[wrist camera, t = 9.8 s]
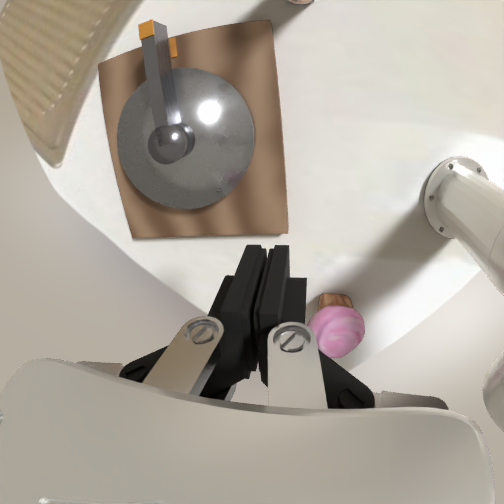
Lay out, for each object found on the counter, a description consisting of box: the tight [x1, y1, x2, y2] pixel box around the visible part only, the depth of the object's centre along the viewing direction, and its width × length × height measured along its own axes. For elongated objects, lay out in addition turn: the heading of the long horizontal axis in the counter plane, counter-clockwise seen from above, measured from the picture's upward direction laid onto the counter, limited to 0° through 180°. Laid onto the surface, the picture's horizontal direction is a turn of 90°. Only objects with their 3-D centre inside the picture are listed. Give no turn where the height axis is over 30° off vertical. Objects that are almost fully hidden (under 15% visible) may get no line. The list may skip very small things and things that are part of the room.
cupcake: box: [307, 293, 365, 358], centre depth 40 cm, size 9×9×10 cm
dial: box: [117, 20, 256, 209], centre depth 28 cm, size 24×18×6 cm
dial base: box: [98, 20, 288, 238], centre depth 33 cm, size 24×28×2 cm
